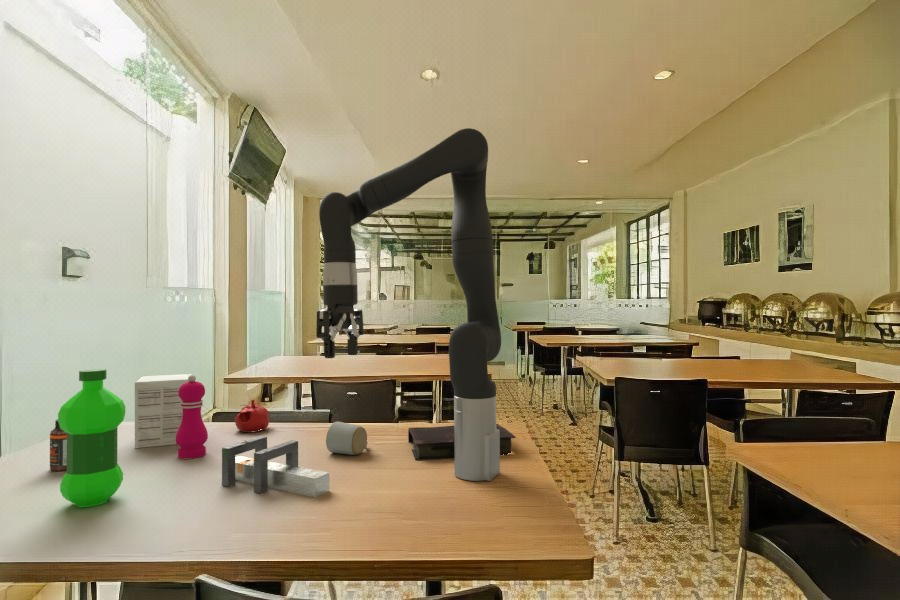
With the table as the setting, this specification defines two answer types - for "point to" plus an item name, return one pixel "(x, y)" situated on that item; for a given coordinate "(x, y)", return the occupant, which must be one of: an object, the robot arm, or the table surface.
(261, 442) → the collar
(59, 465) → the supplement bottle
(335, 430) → the ceramic mug
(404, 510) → the table surface
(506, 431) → the diary
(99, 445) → the plastic bottle
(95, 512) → the table surface
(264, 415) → the pomegranate
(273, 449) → the collar
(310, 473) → the orange banded bar
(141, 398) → the supplement box
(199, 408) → the pepper mill
